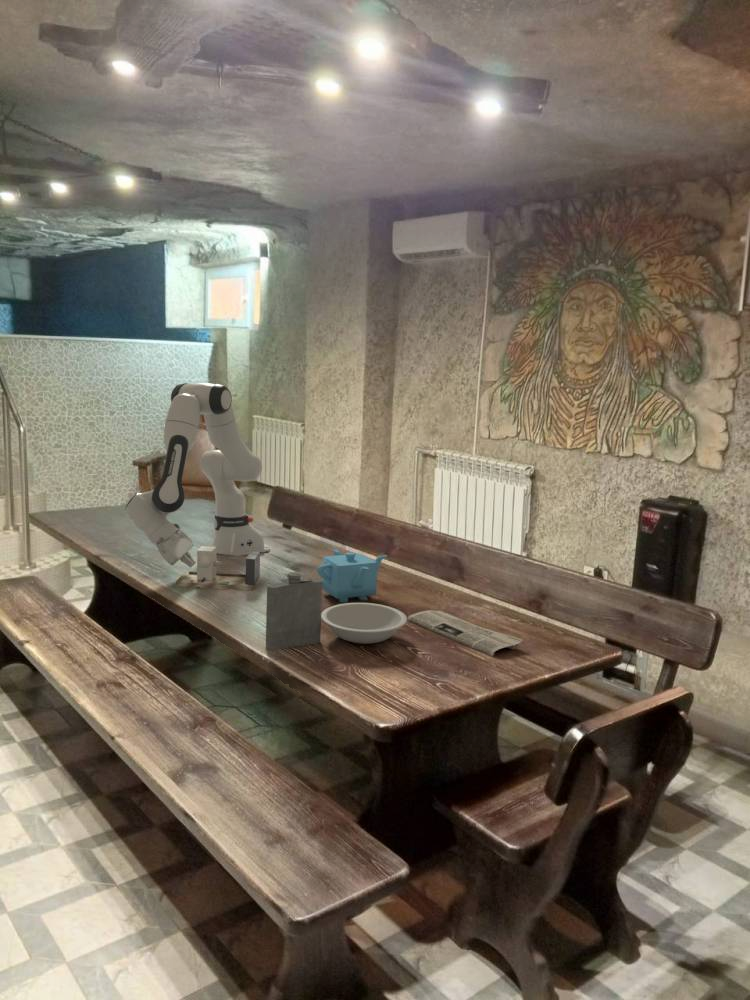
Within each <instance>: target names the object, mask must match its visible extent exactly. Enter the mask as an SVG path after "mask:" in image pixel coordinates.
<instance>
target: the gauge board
mask: <svg viewBox="0 0 750 1000" xmlns="http://www.w3.org/2000/svg"><path fill="white" fill-rule="evenodd" d="M245 574H246V573H245ZM245 574H242V573H240V574H239V573H225V572H224V573H223V572H216V576H215V577H214V579H213V580H212V581H211V580H205V581H204V582H202V580H197V571H185V572H184V573H182V574H181V576H180V577H178V578H177V579H176V580H175V581H174V587H175V586H183V587H182V588H192V587H201V588H200V589H210V588H221V589H220V590H229V589H234V590H233V591H248V590H249V591H250V592H252V591H253V592H254V591H255V590H256V588H257V586H258V585H259V583H260V582H261V576H260V577H259V579H258V580H257V582H256V584H255V585H246V584H245ZM257 584H258V585H257Z"/></svg>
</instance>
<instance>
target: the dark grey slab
mask: <svg viewBox="0 0 750 1000" xmlns="http://www.w3.org/2000/svg"><path fill="white" fill-rule="evenodd" d="M260 569H261V553H260V551H251V552H250V553H249V554H248V555H246V558H245V584H246V585H255V584H256V582H257V580H258V579H259V577H260V578H261V574H260V573H261V572H260V571H261V570H260Z"/></svg>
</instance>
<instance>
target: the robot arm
mask: <svg viewBox="0 0 750 1000" xmlns="http://www.w3.org/2000/svg"><path fill="white" fill-rule="evenodd" d="M232 398H233V397H232V393H231V391H230V390H229V388H228V386H226V385H223V384H219V383H209V382H197V383H196V382H193V383H187V382H185V383H179V384H177V385H175V386H174V387H173V389H172V391H171V394H170V400H171V401H170V406H169V408H168V411H167V415H166V418H165V423H164V431H163V443H164V446H165V451H166V455H165V461H164V467H163V471H162V476H161V479H160V480H159V482H158V483H157V485H156V486H155V487H154V489H152V490H149V491H145V492H137V493H135V494H134V495H133V496H132V497H131V498H130V500H129V501H128V502H127V504H126V505H125V509H124V510H125V514H126V516H127V518H128V519H129V520H130V521H131V522H132V523H133V525H135V527H136V528H137V529H138V530H140V531H142V532H143V533H144V535H145V537H146V538H147V539H148V540H149V541H150V542H151V543H152V544H153V545H154V546H155V547H156V548H157V551H158V553H159V554H160V556H161V557H162V558H163V559H164V560H165V561H166V563H167V564H168V565H169V566H170V565H171V566H174V565H175V564H176V563H177V562H179V561H180V562H182V563H183V564H185V565H186V566H188V568H193V566H194V565H195V564H197V561H195V559H194V558H193V557H192V554H191V553H190V552H189V551H190V550H191V549H192V548H193V547H195V546H194V545H195V544H194V543H193V541H192V540H191V538H190V537H189V536H188V535H187V533H185V531H183V530H182V529H181V528H182V527H181V526H180V525H179V523H177V522H170V520H169V519H168V518H167V517H168V516H170V515H171V514H174V513H176V512H177V511H178V510H179V509H180V508H181V507H182V506H183V504H184V501H185V491H184V488H183V475H184V469H185V465H186V461H187V460H186V459H187V456H188V454H189V452H190V451H192V448H193V446H194V444H195V442H196V440H197V439H196V438H197V435H198V431H199V427H200V418H201V415H203V418H204V422H205V423H204V424H205V427H206V431H207V435H208V439H209V441H210V443H211V445H212V446H213V447H215V448H217V449H212V450H206V451H204V452H203V454H202V456H201V457H200V459H199V460H200V461H199V468H200V471H201V473H203V474H204V476H205V477H206V478H207V479H208V480H209V482H210V484H211V487H212V490H213V492H214V499H215V514H214V520H213V523H214V524H213V526H214V536H213V542H212V545H211V547H216V554H218V555H219V554H220V555H228V556H234V557H239V556H240V557H241V556H247V555H246V554H248V555H249V553H250V552H251V551H260V552H262V553H267V552H266V551H268V552H270V546H269V545H268V544H266V543H265V541H264V536H263V534H262V533H261V532H260V531H259V530H258V529H256V527H254V526H252V525H251V524H250V523H253V522H254V518H253V516H249V515H247V514H246V513H245V512H246V508H245V507H246V497H245V495H244V493H243V491H241V490H240V489H239V488H238V487H237V485H236V483H235V482H236V481H238V482H252V481H256V480H258V479H259V477H260V476H261V475H262V472H263V463H262V461H261V459H260V457H259V456H258V455H256V454H255V453H254V452H252V451H251V450H250V449H249V447H248V446H247V445H246V444H245V442H244V440H243V439H242V437H241V435H240V432H239V428H238V425H237V420H236V415H235V412H234V409H233V406H232V403H233V399H232Z"/></svg>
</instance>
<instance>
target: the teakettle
mask: <svg viewBox="0 0 750 1000" xmlns="http://www.w3.org/2000/svg"><path fill="white" fill-rule="evenodd" d="M332 551H333V553H334V555H327V556H323V557H322V564H321V565H319V566H318V567H317V568H316V571H317V574H318V575H319V576H320V577H321V580H322V590H323V591H325V592H327V593H328V594H329V596H332V597H333V598H335V599H336V600H338V602H339V603H340V604H345V603H349V602H348V601H349V599H350V598H358V600H359V601H368V596H376V595H377V583H378V581H377V580H378V573H379V570H380V569H379V568H380V564H381V562H382V561H383V559H385V558H386V557H388V555H387V554H382V555H378V556H377V557H376V558H375V559H372V558H370V557H368V556H367V555H364V554H363V553H355V552H345V554H341V551H339V549H336V548H334V549H333V550H332Z"/></svg>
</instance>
